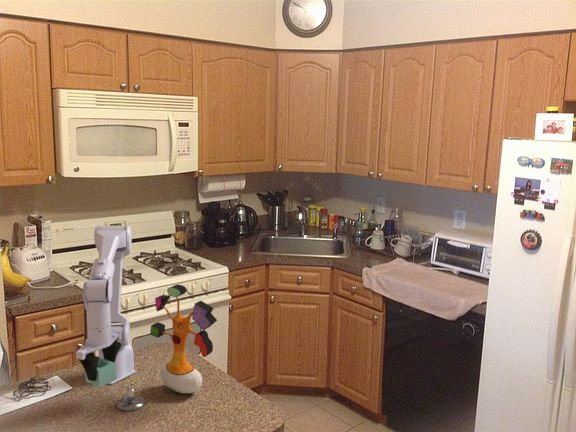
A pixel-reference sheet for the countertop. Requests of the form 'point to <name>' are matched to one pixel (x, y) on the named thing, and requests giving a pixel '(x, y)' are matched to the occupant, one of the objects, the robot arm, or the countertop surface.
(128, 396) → the post
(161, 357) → the countertop surface
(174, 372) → the decorative sculpture
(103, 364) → the collar
